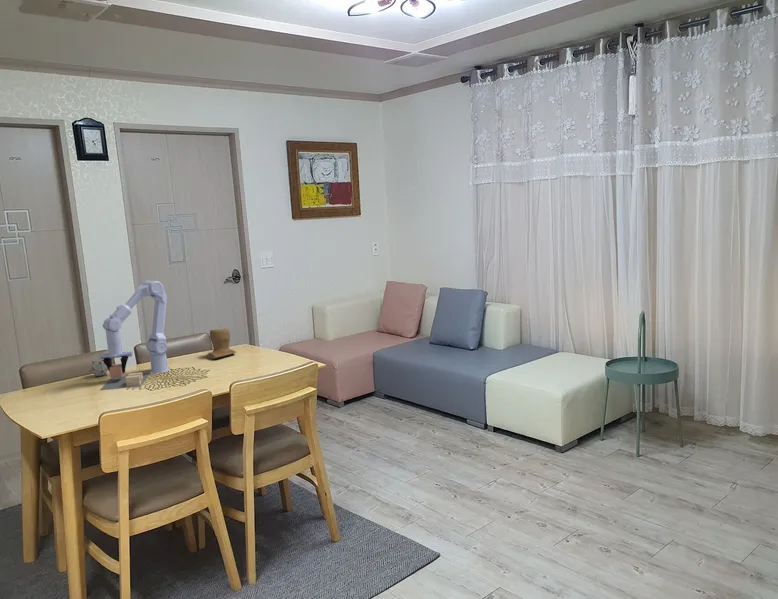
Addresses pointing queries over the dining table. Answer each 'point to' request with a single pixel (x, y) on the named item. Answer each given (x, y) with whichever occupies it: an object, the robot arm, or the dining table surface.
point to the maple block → (134, 379)
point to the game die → (99, 368)
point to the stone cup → (220, 343)
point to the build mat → (120, 383)
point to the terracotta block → (116, 370)
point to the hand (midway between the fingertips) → (117, 373)
